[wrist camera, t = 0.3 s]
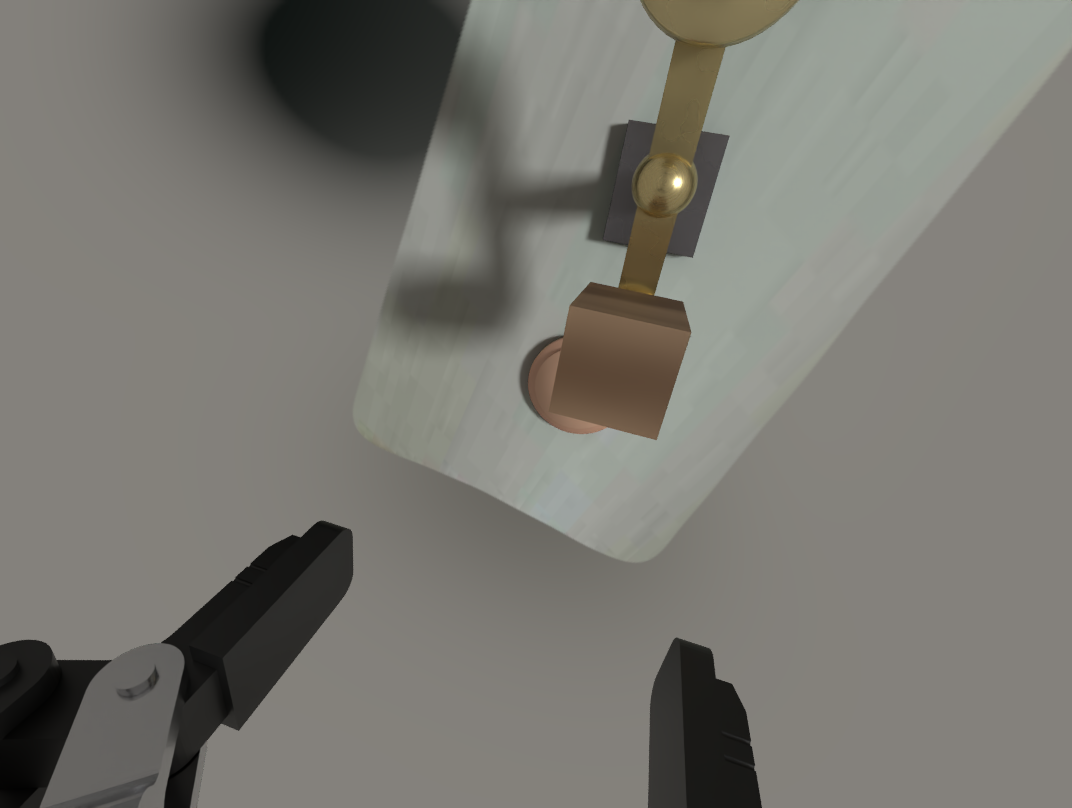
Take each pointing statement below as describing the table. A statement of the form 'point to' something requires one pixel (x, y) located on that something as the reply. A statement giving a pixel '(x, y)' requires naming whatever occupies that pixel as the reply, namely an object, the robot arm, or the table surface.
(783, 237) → the table surface
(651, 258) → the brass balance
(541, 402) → the terracotta dish
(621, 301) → the walnut block
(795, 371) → the table surface
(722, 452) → the table surface
